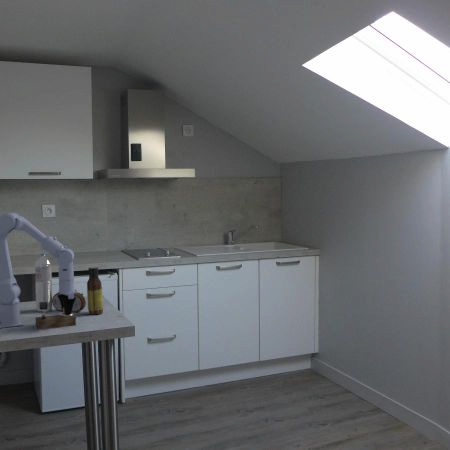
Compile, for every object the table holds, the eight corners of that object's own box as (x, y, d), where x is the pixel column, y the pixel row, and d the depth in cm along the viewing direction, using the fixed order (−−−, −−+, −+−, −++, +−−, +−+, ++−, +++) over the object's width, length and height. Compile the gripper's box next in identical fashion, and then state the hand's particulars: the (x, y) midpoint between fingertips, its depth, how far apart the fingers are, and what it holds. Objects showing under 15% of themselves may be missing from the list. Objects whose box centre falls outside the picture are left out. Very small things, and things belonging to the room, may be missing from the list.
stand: (39, 329, 230) (39, 321, 230) (35, 325, 236) (35, 317, 236) (75, 325, 237) (75, 317, 237) (71, 321, 243) (71, 313, 243)
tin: (86, 311, 260) (85, 292, 259) (82, 313, 257) (82, 293, 256) (55, 309, 264) (54, 290, 263) (51, 311, 261) (50, 291, 260)
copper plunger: (62, 325, 236) (62, 309, 235) (59, 322, 240) (58, 307, 239) (75, 324, 238) (74, 308, 237) (71, 321, 242) (71, 305, 242)
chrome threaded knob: (38, 320, 231) (38, 304, 230) (35, 317, 235) (35, 301, 235) (51, 319, 233) (51, 302, 233) (48, 316, 238) (48, 300, 237)
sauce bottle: (104, 311, 260) (103, 265, 258) (101, 315, 254) (101, 268, 252) (88, 311, 260) (88, 265, 258) (86, 315, 253) (85, 268, 252)
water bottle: (53, 311, 259) (52, 254, 257) (36, 313, 257) (35, 254, 254) (51, 308, 265) (50, 252, 263) (35, 309, 263) (34, 252, 261)
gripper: (81, 281, 233) (82, 316, 234) (71, 275, 245) (72, 308, 247) (63, 283, 229) (63, 318, 231) (54, 277, 242) (54, 310, 243)
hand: (66, 313), depth 239 cm, fingers open, 4 cm apart
